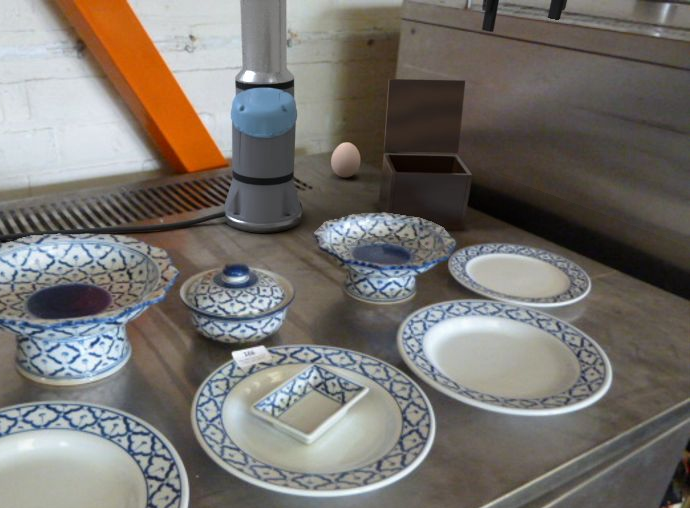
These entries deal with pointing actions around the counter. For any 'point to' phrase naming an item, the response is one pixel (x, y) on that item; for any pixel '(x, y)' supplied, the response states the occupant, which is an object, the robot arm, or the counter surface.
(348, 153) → the egg
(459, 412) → the counter surface
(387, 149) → the lid
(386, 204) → the chest
